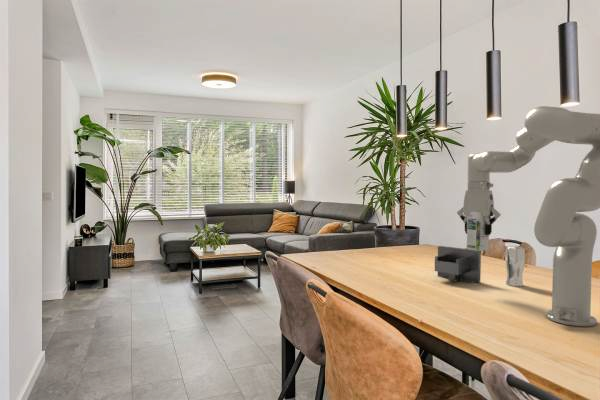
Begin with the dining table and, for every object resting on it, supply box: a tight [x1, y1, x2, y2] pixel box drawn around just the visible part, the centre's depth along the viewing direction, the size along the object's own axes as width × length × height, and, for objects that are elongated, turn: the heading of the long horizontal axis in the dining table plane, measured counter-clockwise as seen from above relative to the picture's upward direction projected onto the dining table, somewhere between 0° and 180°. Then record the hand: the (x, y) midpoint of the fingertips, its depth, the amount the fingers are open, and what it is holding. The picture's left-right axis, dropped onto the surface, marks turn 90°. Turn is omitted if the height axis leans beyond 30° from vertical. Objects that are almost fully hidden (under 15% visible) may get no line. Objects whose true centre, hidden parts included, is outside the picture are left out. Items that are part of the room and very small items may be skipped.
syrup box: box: [466, 212, 490, 252], centre depth 155 cm, size 6×6×14 cm
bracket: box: [434, 245, 482, 284], centre depth 172 cm, size 11×18×13 cm, turn 42°
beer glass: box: [504, 245, 526, 288], centre depth 165 cm, size 7×7×15 cm
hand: (477, 233), depth 155 cm, fingers closed on syrup box, 6 cm apart
